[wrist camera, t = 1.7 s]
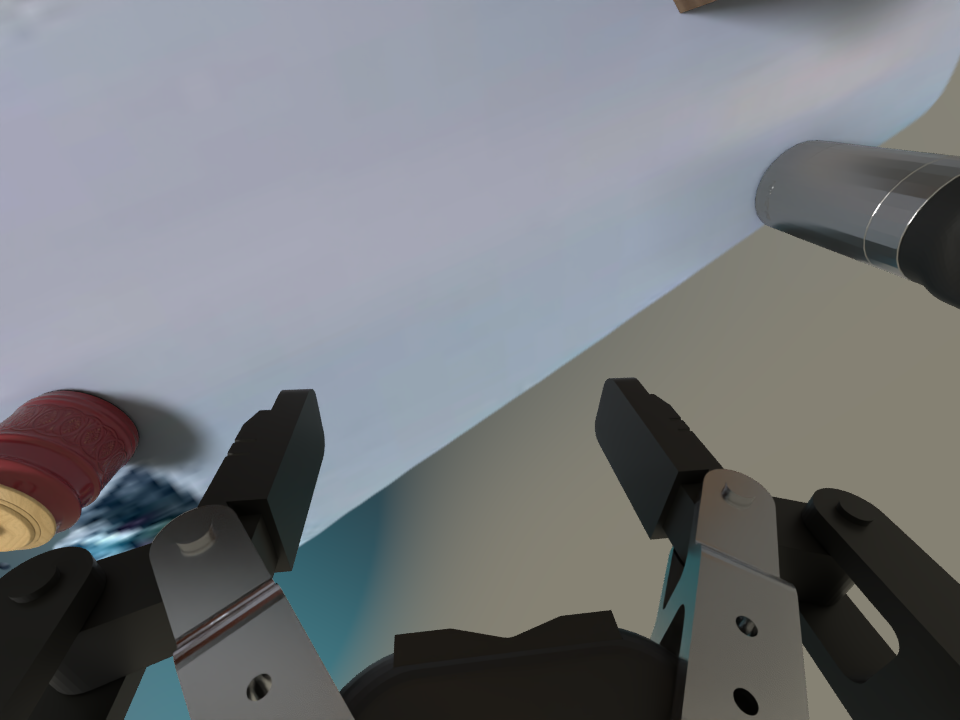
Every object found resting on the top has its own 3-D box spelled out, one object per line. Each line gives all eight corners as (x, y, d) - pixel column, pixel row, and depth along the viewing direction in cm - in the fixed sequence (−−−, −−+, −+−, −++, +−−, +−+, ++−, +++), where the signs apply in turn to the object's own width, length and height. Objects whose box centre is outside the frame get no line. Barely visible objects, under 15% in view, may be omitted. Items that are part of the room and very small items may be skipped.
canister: (90, 472, 59) (-26, 597, 44) (1, 409, 52) (-172, 532, 37) (164, 442, 57) (69, 562, 42) (82, 373, 50) (-64, 487, 36)
